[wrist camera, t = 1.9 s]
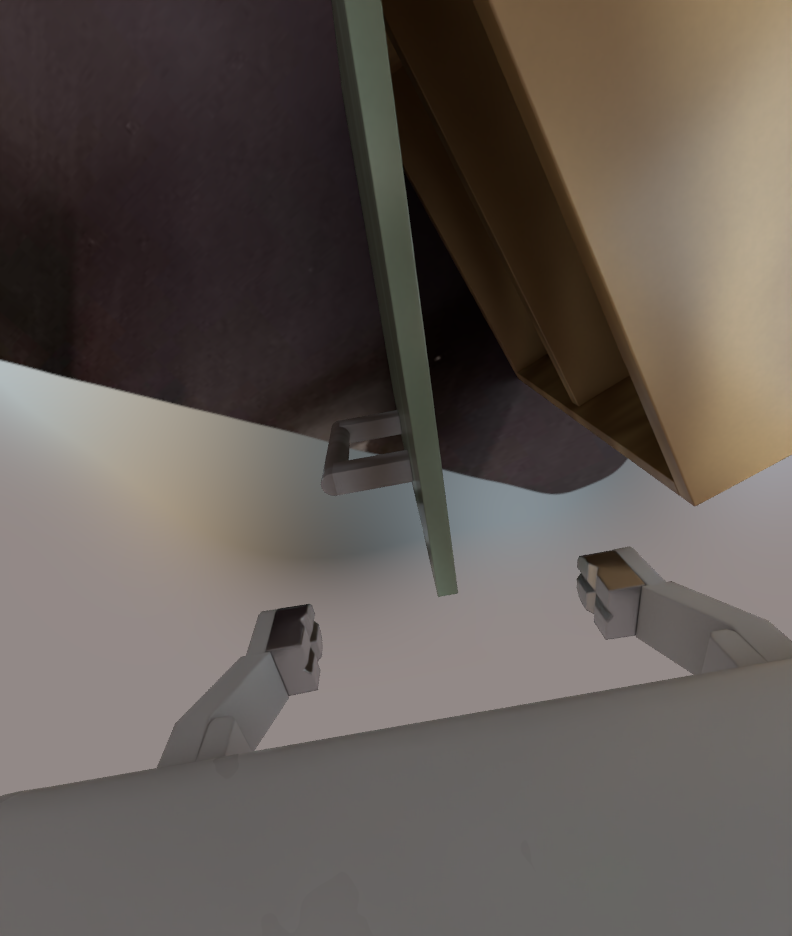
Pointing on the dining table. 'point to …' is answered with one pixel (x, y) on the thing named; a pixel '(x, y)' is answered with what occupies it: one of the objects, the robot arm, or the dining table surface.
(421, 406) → the door
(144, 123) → the dining table surface
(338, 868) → the robot arm
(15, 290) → the dining table surface
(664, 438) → the cupboard
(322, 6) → the dining table surface
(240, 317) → the dining table surface
